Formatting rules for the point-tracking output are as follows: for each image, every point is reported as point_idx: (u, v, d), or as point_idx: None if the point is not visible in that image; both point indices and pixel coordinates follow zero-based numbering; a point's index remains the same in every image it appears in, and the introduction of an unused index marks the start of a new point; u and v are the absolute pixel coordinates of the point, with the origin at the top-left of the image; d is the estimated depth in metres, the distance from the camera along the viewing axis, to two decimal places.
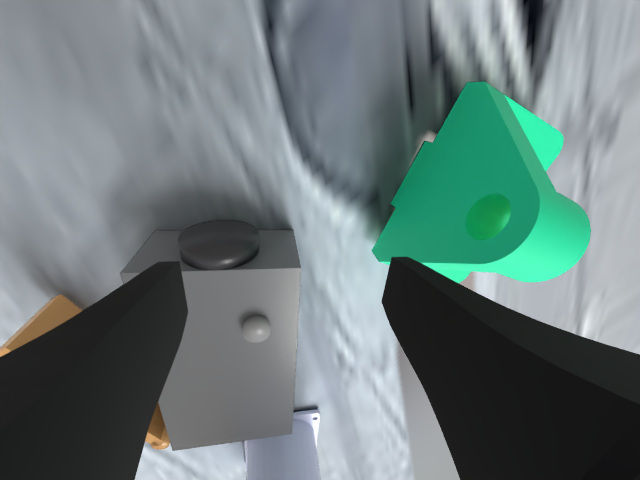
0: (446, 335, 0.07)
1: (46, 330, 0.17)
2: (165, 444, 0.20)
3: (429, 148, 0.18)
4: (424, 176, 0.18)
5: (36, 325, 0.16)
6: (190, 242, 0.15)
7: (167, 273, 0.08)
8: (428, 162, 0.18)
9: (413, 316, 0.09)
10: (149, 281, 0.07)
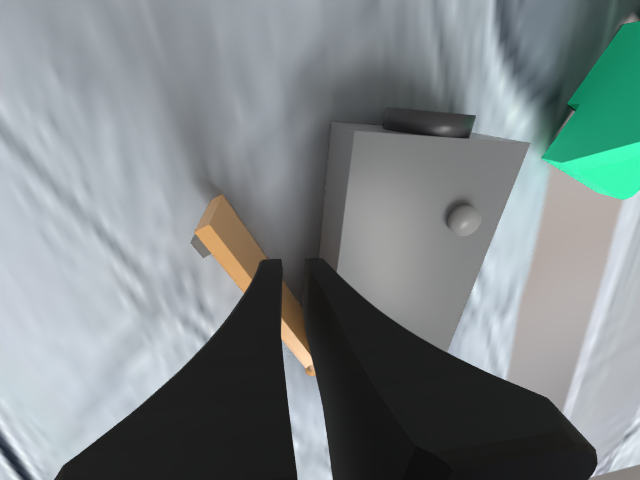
0: (330, 344, 0.07)
1: (225, 222, 0.15)
2: None
3: (637, 27, 0.16)
4: (634, 55, 0.16)
5: (218, 214, 0.15)
6: None
7: (282, 270, 0.08)
8: (638, 40, 0.16)
9: (315, 322, 0.08)
10: (273, 277, 0.08)
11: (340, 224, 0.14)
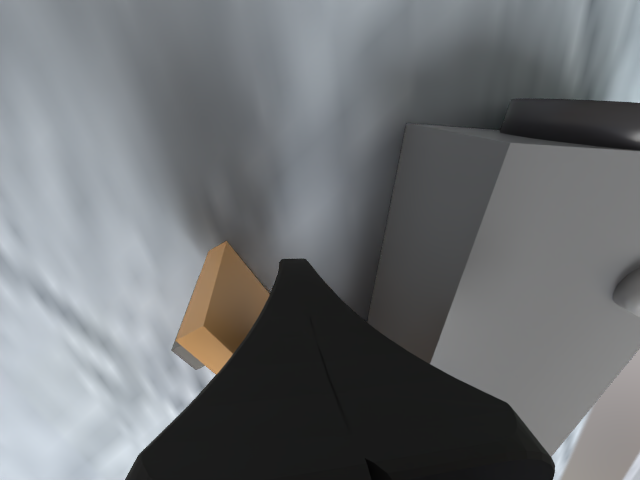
0: None
1: (233, 298, 0.09)
2: None
3: None
4: None
5: (221, 287, 0.08)
6: None
7: (304, 269, 0.08)
8: None
9: None
10: (297, 276, 0.08)
11: (439, 300, 0.08)
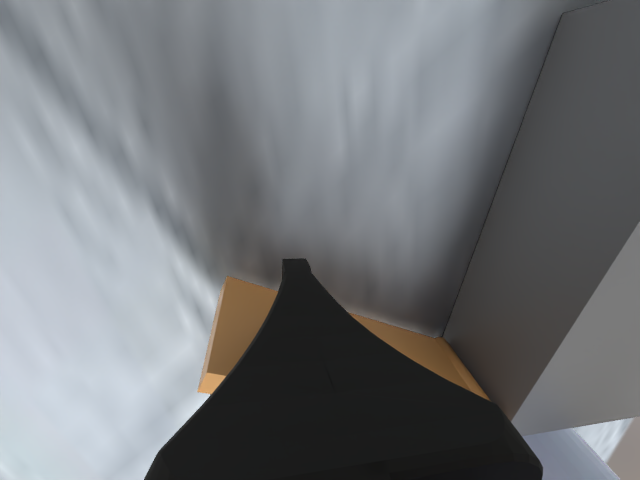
0: None
1: (244, 326, 0.09)
2: None
3: None
4: None
5: (226, 324, 0.09)
6: None
7: (310, 269, 0.08)
8: None
9: None
10: (303, 276, 0.08)
11: (637, 184, 0.08)
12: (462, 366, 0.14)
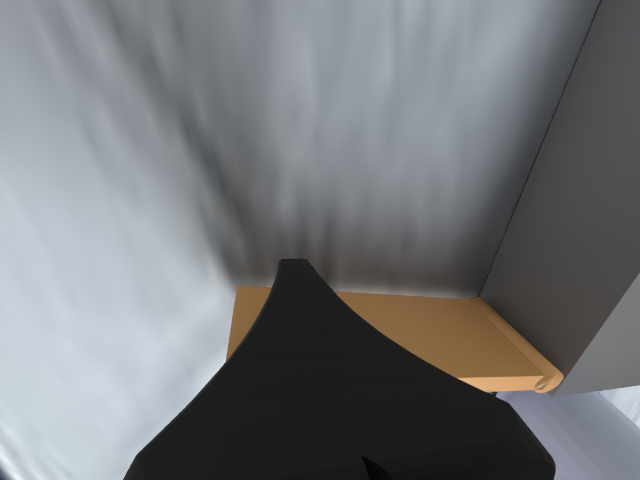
0: None
1: None
2: (557, 377, 0.11)
3: None
4: None
5: (239, 333, 0.09)
6: None
7: (304, 269, 0.08)
8: None
9: None
10: (296, 276, 0.08)
11: None
12: (503, 323, 0.13)
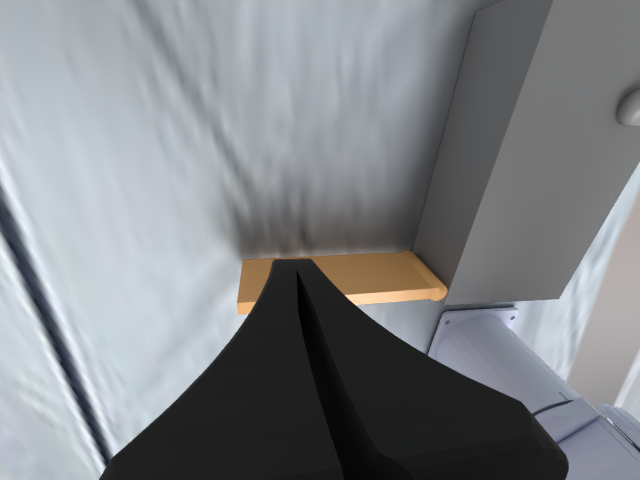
0: (313, 346, 0.07)
1: (255, 280, 0.17)
2: (442, 289, 0.17)
3: None
4: None
5: (245, 282, 0.17)
6: None
7: (296, 269, 0.08)
8: None
9: (301, 323, 0.08)
10: (288, 277, 0.08)
11: (505, 109, 0.13)
12: (418, 263, 0.19)
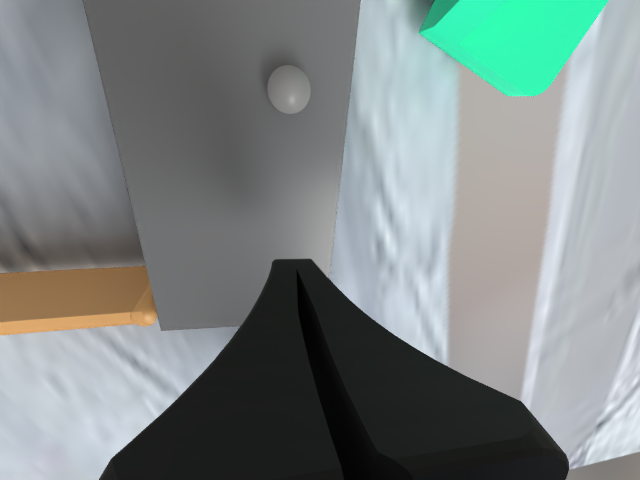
0: (313, 346, 0.07)
1: None
2: (146, 312, 0.14)
3: None
4: None
5: None
6: None
7: (296, 269, 0.08)
8: None
9: (300, 323, 0.08)
10: (288, 277, 0.08)
11: (111, 93, 0.10)
12: None
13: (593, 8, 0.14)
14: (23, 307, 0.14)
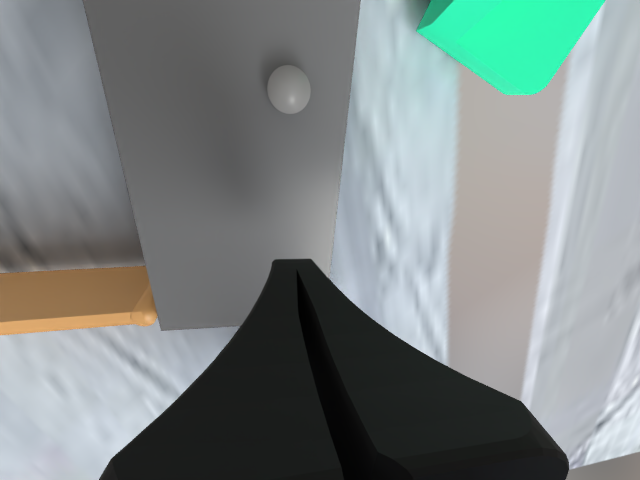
0: (313, 346, 0.07)
1: None
2: (146, 312, 0.14)
3: None
4: None
5: None
6: None
7: (296, 269, 0.08)
8: None
9: (300, 323, 0.08)
10: (288, 277, 0.08)
11: (111, 93, 0.10)
12: None
13: (591, 6, 0.14)
14: (23, 307, 0.14)
